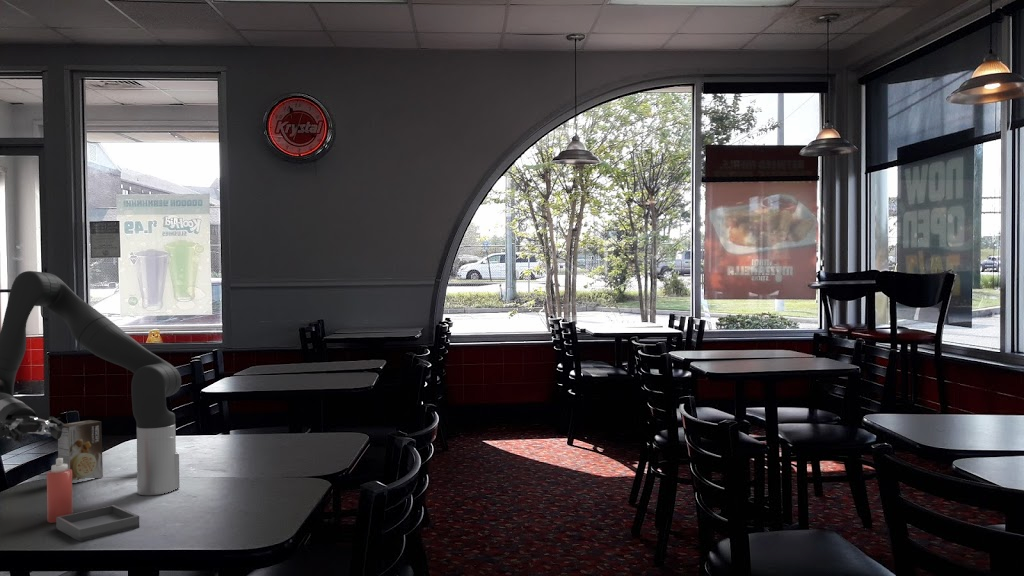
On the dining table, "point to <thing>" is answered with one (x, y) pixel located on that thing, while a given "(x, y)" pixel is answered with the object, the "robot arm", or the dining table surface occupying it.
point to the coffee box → (82, 449)
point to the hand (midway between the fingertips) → (40, 436)
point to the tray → (97, 522)
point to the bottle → (59, 491)
